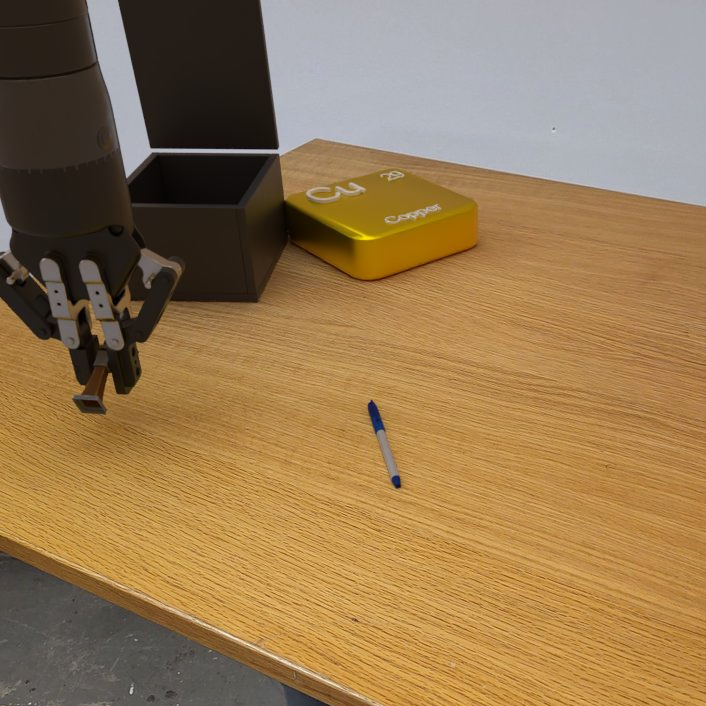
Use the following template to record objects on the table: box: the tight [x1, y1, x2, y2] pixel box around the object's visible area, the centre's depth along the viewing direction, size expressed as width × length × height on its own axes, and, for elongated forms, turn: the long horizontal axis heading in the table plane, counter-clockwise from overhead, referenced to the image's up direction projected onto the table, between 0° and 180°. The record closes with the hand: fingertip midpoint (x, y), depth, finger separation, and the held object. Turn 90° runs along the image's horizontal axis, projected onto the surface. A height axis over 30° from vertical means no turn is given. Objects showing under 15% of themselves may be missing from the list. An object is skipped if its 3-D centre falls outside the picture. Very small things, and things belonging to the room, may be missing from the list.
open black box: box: [126, 151, 290, 303], centre depth 88 cm, size 15×13×9 cm
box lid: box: [117, 0, 280, 151], centre depth 88 cm, size 15×13×5 cm
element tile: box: [284, 167, 479, 281], centre depth 94 cm, size 15×15×5 cm
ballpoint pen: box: [367, 399, 402, 489], centre depth 66 cm, size 10×1×1 cm, turn 15°
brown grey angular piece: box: [71, 339, 140, 416], centre depth 66 cm, size 2×8×4 cm, turn 173°
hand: (111, 387), depth 66 cm, fingers closed on brown grey angular piece, 1 cm apart
